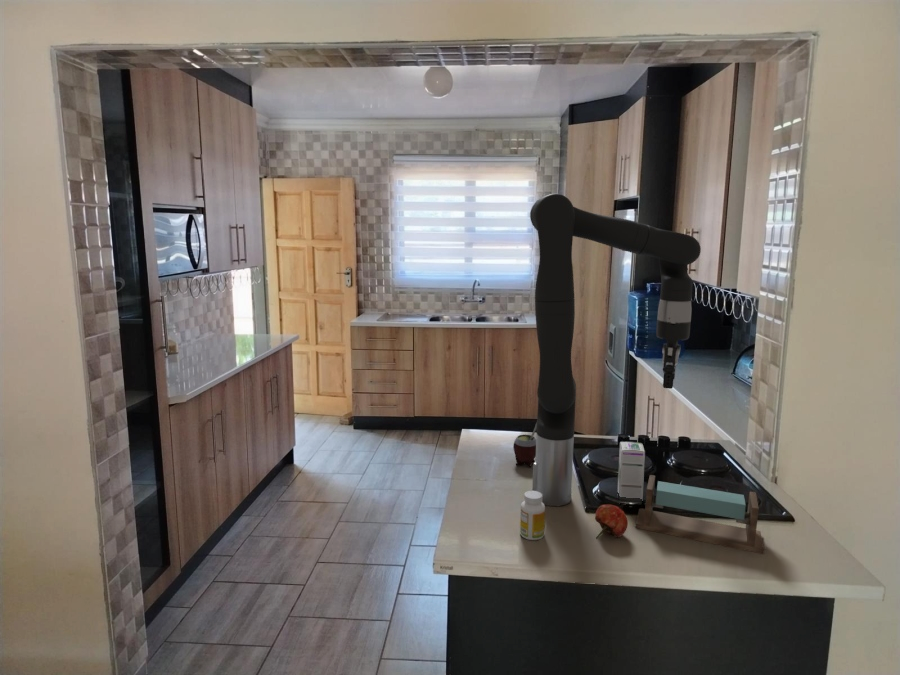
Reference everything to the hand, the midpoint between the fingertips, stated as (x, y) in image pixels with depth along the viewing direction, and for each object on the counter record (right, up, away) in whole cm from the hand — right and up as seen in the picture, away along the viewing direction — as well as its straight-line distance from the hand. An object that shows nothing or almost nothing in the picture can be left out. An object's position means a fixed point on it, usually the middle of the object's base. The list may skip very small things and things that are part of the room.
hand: (668, 383), depth 140 cm
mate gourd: (-31, -26, +26) cm, 48 cm away
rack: (+2, -33, -11) cm, 35 cm away
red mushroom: (-18, -33, -12) cm, 40 cm away
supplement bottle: (-35, -33, -12) cm, 50 cm away
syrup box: (-8, -30, +4) cm, 31 cm away
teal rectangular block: (+2, -27, -12) cm, 29 cm away
